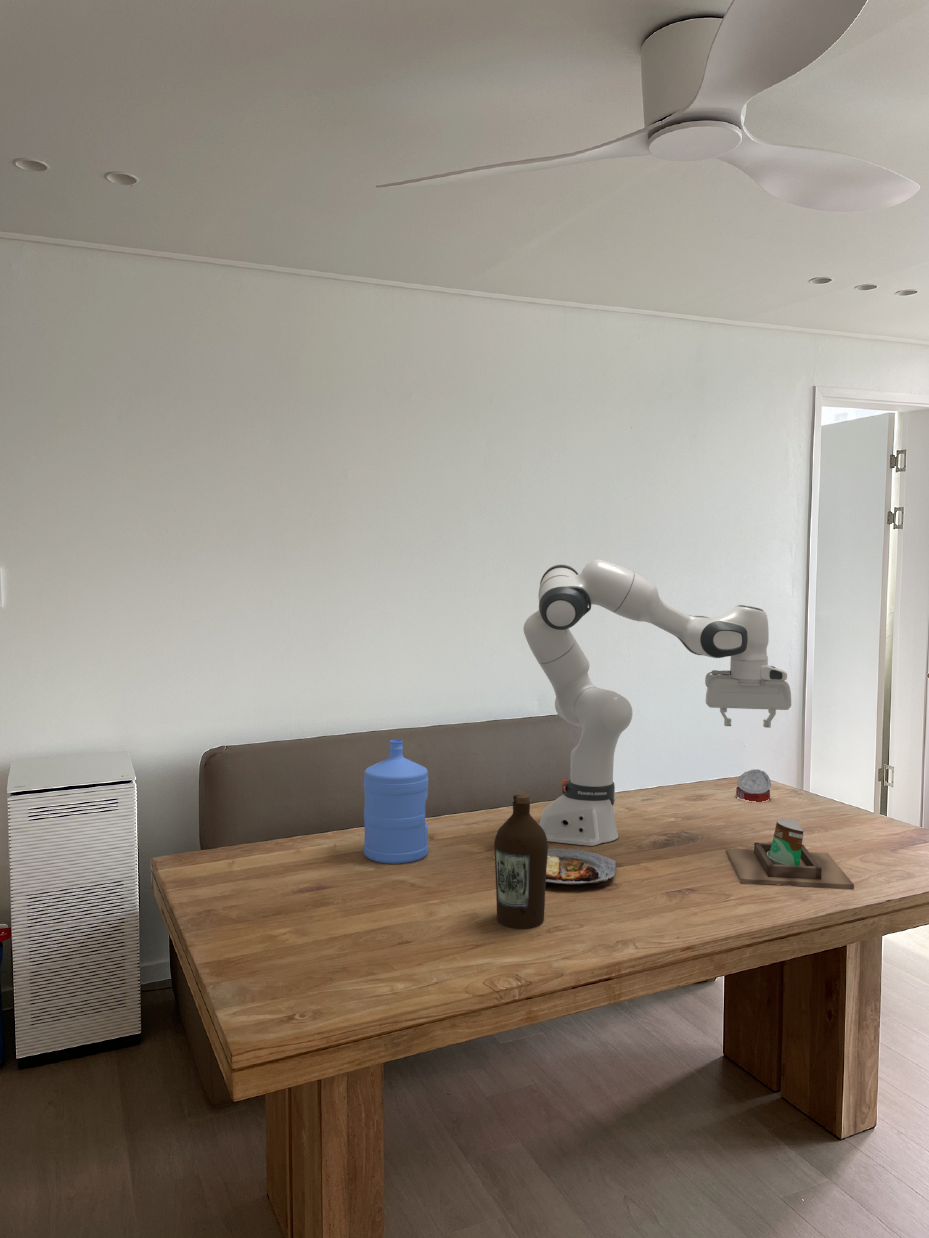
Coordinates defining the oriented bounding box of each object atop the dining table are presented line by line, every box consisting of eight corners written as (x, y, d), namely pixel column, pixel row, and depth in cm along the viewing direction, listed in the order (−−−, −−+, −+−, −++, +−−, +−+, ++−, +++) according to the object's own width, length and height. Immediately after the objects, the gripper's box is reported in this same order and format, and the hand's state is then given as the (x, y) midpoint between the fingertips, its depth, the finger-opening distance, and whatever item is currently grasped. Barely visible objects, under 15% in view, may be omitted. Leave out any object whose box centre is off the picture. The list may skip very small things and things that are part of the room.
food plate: (613, 895, 191) (613, 879, 191) (505, 888, 196) (505, 872, 196) (617, 861, 216) (617, 847, 216) (521, 856, 220) (521, 841, 220)
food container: (776, 828, 201) (770, 871, 202) (804, 833, 200) (798, 876, 201) (767, 814, 213) (761, 854, 214) (794, 818, 212) (788, 859, 213)
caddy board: (740, 883, 199) (741, 867, 199) (725, 852, 221) (726, 838, 221) (853, 889, 196) (854, 873, 196) (827, 857, 218) (828, 842, 218)
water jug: (399, 869, 208) (399, 749, 206) (350, 856, 217) (350, 741, 215) (441, 852, 220) (441, 739, 218) (393, 840, 229) (393, 732, 228)
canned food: (769, 814, 274) (784, 788, 270) (746, 815, 268) (761, 789, 264) (745, 789, 282) (760, 764, 278) (723, 790, 277) (737, 764, 273)
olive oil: (508, 905, 186) (508, 786, 184) (555, 915, 180) (556, 792, 179) (484, 923, 176) (485, 798, 175) (533, 934, 171) (534, 805, 170)
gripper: (707, 671, 220) (705, 727, 221) (793, 673, 217) (792, 730, 218) (704, 668, 226) (702, 723, 227) (788, 670, 224) (786, 725, 224)
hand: (747, 726), depth 223 cm, fingers open, 8 cm apart
